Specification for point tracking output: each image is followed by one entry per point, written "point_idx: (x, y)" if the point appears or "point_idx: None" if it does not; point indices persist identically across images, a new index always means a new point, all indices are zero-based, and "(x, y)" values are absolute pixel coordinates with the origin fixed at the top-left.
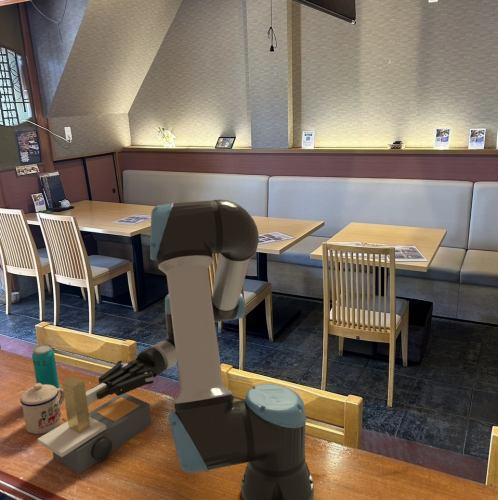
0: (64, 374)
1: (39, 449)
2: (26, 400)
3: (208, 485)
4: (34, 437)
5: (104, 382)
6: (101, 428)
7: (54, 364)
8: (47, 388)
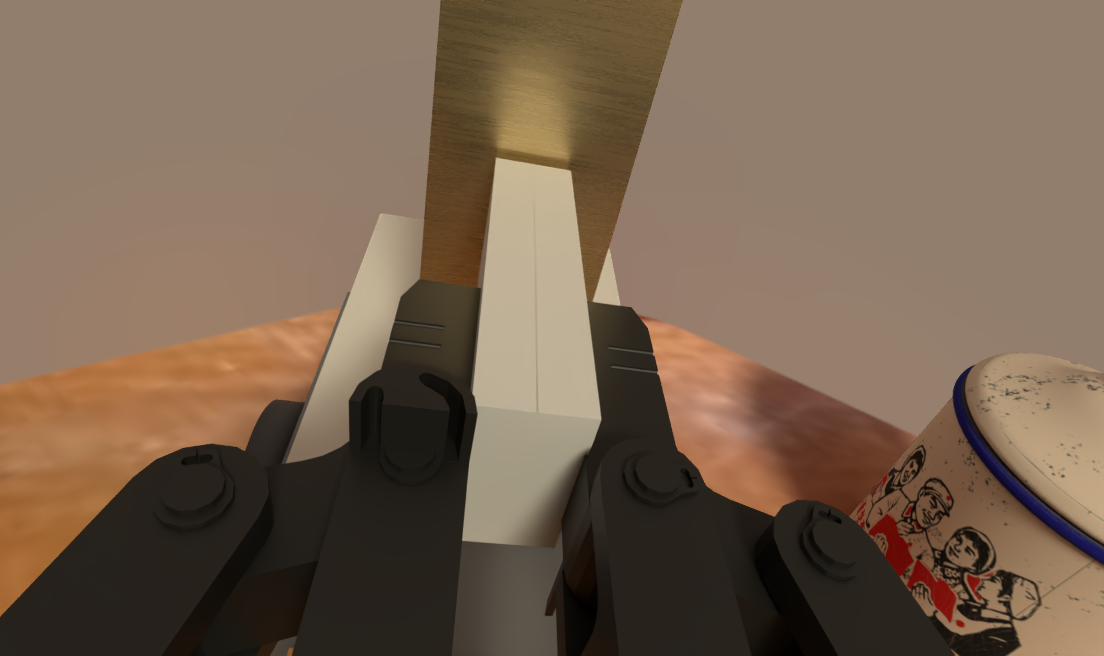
0: None
1: (706, 446)
2: (1032, 357)
3: None
4: (831, 494)
5: (601, 464)
6: (299, 429)
7: None
8: None
